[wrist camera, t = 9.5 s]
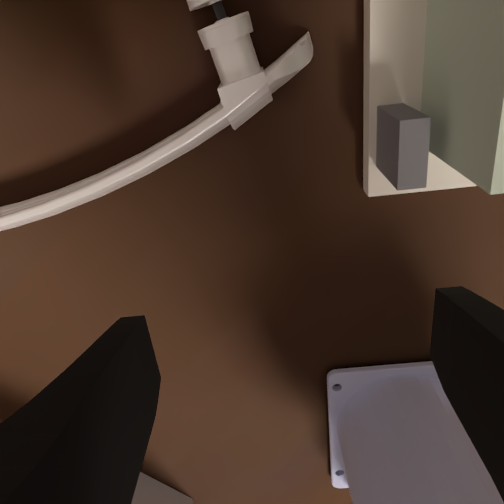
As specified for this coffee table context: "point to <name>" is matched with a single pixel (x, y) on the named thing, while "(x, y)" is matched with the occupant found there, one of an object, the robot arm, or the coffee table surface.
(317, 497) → the coffee table surface
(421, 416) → the robot arm
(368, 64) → the plate with corner feet
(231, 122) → the door handle
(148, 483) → the hinge
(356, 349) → the coffee table surface
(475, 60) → the long rectangular block
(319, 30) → the coffee table surface
